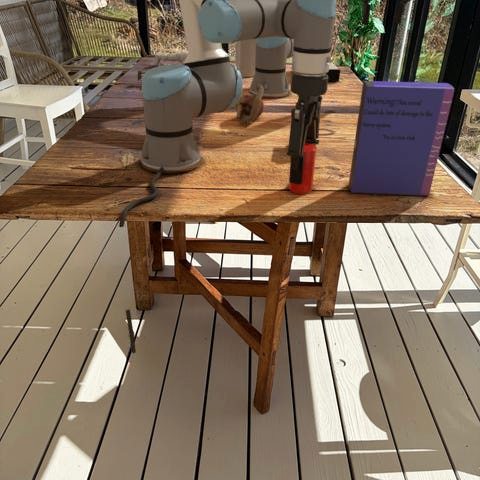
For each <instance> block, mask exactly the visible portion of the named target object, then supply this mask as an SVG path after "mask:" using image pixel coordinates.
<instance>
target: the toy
mask: <svg viewBox="0 0 480 480" xmlns="http://www.w3.org/2000/svg"><path fill="white" fill-rule="evenodd" d="M187 56H188V50H183V51H177V52H172V53H170V52H168V51H167V52H166V51H164V52H163V51H158V52H155V54H154V61H153V62H154V63H153V64H154V67H158V64H162V63H163V62H167V61H168V62H180V64H181V65H184V61H185V59H186V58H187Z"/></svg>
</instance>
